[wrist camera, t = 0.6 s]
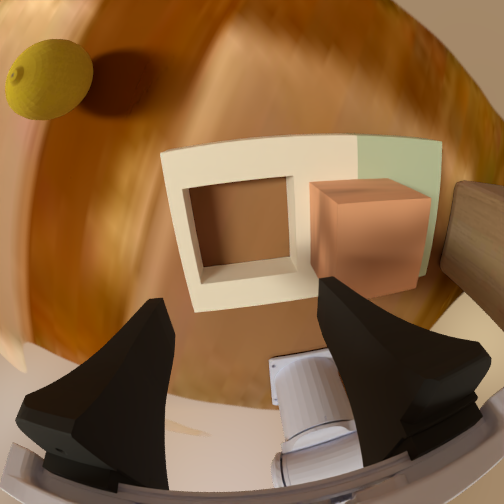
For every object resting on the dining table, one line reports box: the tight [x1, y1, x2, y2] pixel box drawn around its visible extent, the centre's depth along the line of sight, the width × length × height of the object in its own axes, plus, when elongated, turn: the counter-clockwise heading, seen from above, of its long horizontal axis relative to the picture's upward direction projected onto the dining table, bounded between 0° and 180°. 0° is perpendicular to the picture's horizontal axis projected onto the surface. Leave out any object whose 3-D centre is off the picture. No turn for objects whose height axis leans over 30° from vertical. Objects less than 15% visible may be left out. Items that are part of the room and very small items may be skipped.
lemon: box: [5, 39, 93, 120], centre depth 10 cm, size 6×6×8 cm
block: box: [309, 178, 431, 299], centre depth 16 cm, size 6×6×5 cm
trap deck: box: [160, 134, 442, 312], centre depth 19 cm, size 12×20×2 cm, turn 96°
